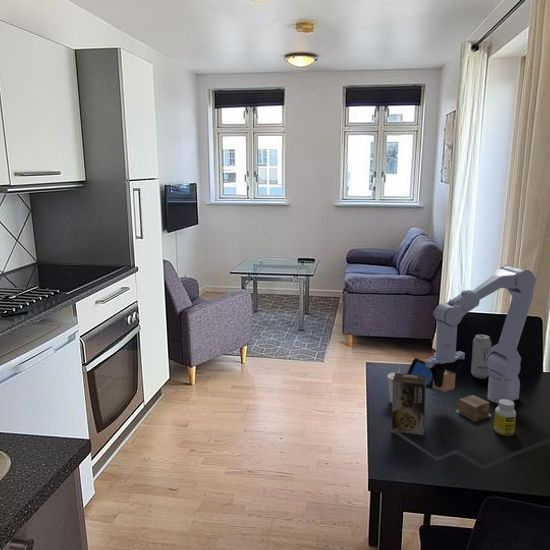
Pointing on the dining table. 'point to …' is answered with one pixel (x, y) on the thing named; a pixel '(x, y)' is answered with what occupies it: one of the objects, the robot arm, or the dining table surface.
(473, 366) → the energy drink can
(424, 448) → the dining table surface
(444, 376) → the terracotta block
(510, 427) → the supplement bottle
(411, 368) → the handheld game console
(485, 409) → the walnut block
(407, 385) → the printed cardboard box
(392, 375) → the smoothie
